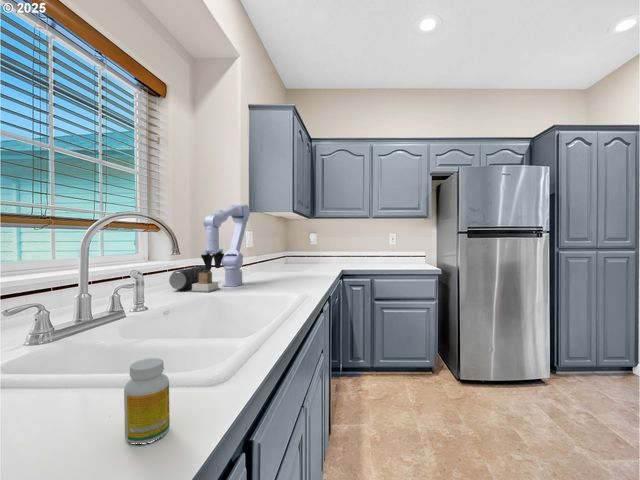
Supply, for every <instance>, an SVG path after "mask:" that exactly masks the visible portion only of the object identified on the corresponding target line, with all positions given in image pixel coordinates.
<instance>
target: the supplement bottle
mask: <svg viewBox="0 0 640 480" xmlns="http://www.w3.org/2000/svg"><path fill="white" fill-rule="evenodd" d="M164 366H165V365H164V360H163V359H162V358H157V357H155V358H154V357H151V358H146V359H145V358H144V359H141V360H138V361H135V362H133V363H132V364H130V366H129V377H130V379H129V380H128V381H127V382H126V383H125V385H124V389H123V397H124V398H123V399H124V400H123V401H124V402H123V403H124V404H123V405H124V408H123V409H124V440H125V441H126V443H128V442H130V443H135V444H136V443H137V444H140V443H141V444H142V443H148V442H151V441H153V440H156V439H158V438H160V437H162V436H163V435H164V434H166V435H167V433H168V432H169V430H170V428H171V427H170V426H171V425H170V422H171V421H170V380H169V377H168V375H166V374H165V373H164V369H165V367H164ZM169 427H170V428H169ZM167 431H168V432H167ZM163 437H164V436H163ZM163 437H162V438H163Z"/></svg>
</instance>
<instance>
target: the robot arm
mask: <svg viewBox="0 0 640 480" xmlns="http://www.w3.org/2000/svg"><path fill="white" fill-rule="evenodd" d="M250 210H251V209H250V207H249V205H248V204H236V205H234V204H231V205H229V206H228V208H226V209H225V210H222V209H218V210H217V212H215V213H212V214H211V215H207V216H205V217H204V219H203V221H202V222H203V226H204V230H205V232H206V233H205V234H206V235H205V237H206V249H204V250H202V251H201V254H200V258H201V259H202V261H203V263H204V266H205V267H206V270H210V271H211V270H212V266H213V265H212V263H213V262H214V267H215V269H220V268H221V266H222V267H223V269H224V272H225V273H224V276H225V278H224V279H225V281H224V282H225V284H224V283H223V285H222V287H239V286H242V285H244V284H245V283H244V282H243V271H242V269H241V268H242V266H243V265H244V264H243V263H244V261H243V260H244V255H243V253H242V252H241V251H240V250H241V248H242V243H243V240H244V239H243V238H244V235H245V231H246V226H247V222H248V221H249V219H250V213H251V211H250ZM229 217H231V219H232V221H233V223H236V224H235V227H234V232H233V234H232V239H231V242H230V246H229V249H228V250H227V251H225V252H224V249H223V248H220V233H219V232H220V231H219V230H220V227H221V225H222V224H223V223H224V222H227V220H228V219H229ZM213 260H214V261H213Z"/></svg>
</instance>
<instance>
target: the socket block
mask: <svg viewBox="0 0 640 480" xmlns="http://www.w3.org/2000/svg"><path fill="white" fill-rule="evenodd" d="M219 290H221V287H219V282H218V281H212V283H209V284H199V283H194V284H192V286H191V289H190V290H189V292H190V293H207V292H209V293H212V292H215V291H219Z"/></svg>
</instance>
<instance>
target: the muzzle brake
mask: <svg viewBox="0 0 640 480" xmlns="http://www.w3.org/2000/svg"><path fill="white" fill-rule="evenodd" d="M204 270H206V267H205V265H200V266H194V267H190V268H185V269H184V268H183V269H177V270H175V271H173V272H172V273H171V274H170V276H169V280H168V281H169V286H171V288H173V289H175V290H179V291H186V290H189V288H192V284H194V283H199V273H202V272H203V271H204ZM207 272H212V271H211V270H207Z"/></svg>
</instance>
